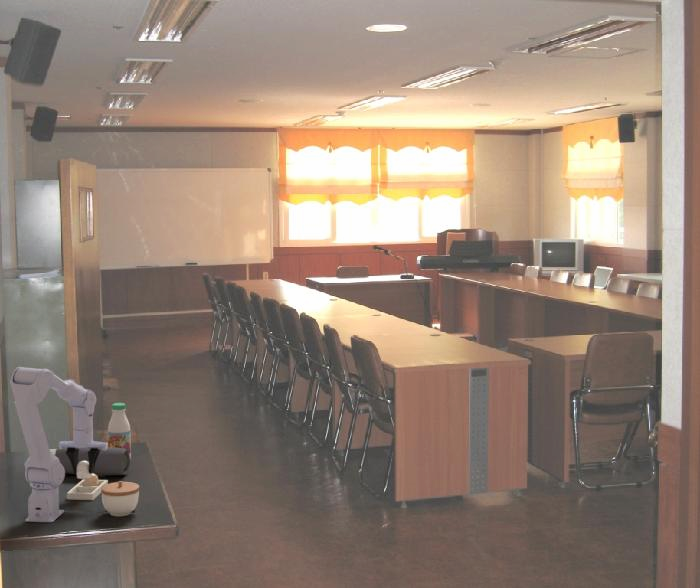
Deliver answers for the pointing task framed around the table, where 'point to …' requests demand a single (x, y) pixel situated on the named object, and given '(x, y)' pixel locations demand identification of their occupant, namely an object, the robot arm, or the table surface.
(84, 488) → the white divided tray
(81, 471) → the white egg
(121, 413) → the milk bottle
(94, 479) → the brown egg
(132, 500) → the lidded jar
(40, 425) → the robot arm
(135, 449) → the table surface
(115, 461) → the bluetooth speaker
